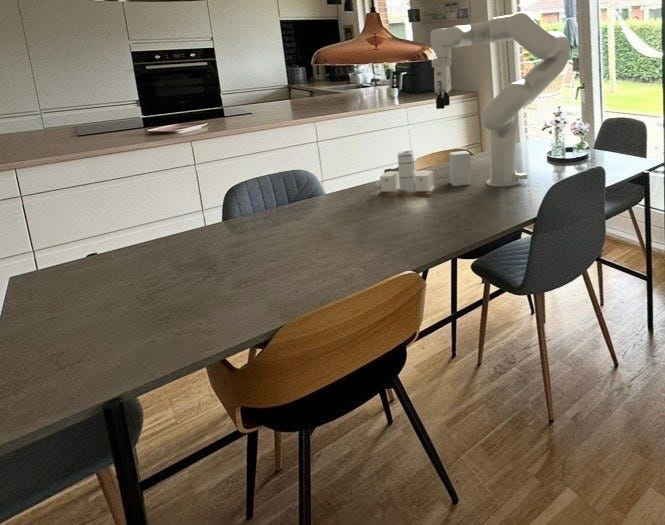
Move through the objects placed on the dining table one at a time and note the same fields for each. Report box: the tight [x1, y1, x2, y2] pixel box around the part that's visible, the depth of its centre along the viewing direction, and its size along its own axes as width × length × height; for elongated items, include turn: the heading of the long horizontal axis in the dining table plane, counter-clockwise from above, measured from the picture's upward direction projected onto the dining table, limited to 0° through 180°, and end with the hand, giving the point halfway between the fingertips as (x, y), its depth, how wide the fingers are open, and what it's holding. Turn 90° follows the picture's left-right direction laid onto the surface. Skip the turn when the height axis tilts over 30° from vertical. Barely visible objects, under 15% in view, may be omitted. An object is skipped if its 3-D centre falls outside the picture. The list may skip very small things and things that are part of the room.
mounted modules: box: [379, 170, 435, 191], centre depth 224 cm, size 19×9×6 cm, turn 67°
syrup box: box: [397, 150, 416, 190], centre depth 223 cm, size 6×6×14 cm
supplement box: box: [448, 150, 472, 187], centre depth 230 cm, size 7×7×13 cm
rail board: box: [377, 185, 438, 198], centre depth 226 cm, size 21×12×2 cm, turn 67°
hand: (443, 107), depth 228 cm, fingers open, 9 cm apart
